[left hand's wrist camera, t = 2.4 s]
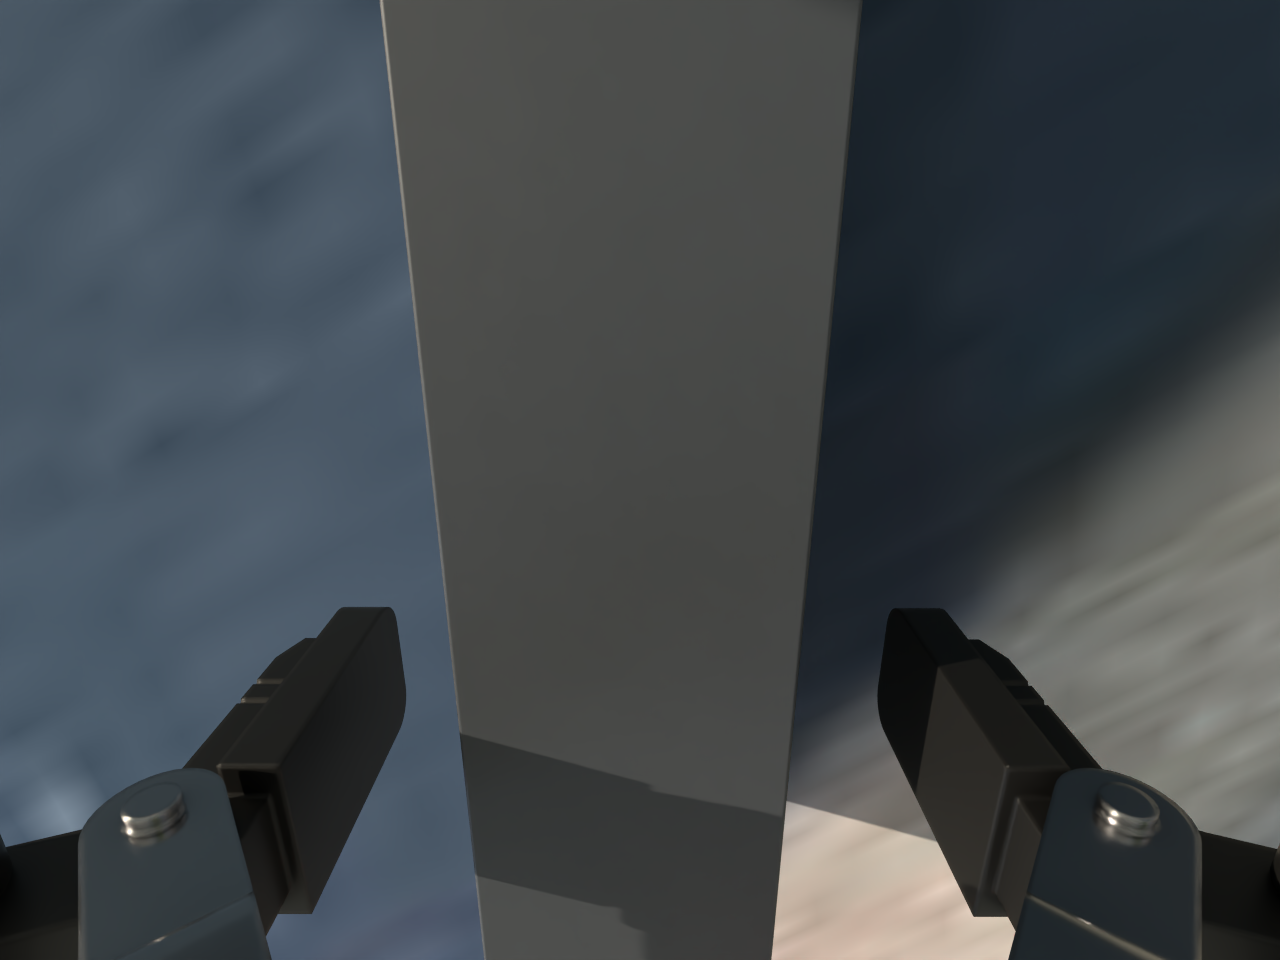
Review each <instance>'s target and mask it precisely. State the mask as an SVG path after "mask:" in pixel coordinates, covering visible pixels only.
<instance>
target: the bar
mask: <svg viewBox="0 0 1280 960" xmlns="http://www.w3.org/2000/svg"><path fill="white" fill-rule="evenodd" d="M862 3H863V0H380V8H381V17H382V26H383V35H384V44H385V54H386V63H387V72H388V81H389V90H390V99H391V109H392V118H393V127H394V136H395V145H396V154H397V163H398V173H399V182H400V191H401V200H402V209H403V218H404V228H405V237H406V246H407V255H408V264H409V273H410V282H411V292H412V301H413V310H414V319H415V328H416V337H417V347H418V356H419V365H420V374H421V383H422V392H423V402H424V411H425V420H426V429H427V438H428V447H429V456H430V466H431V475H432V484H433V493H434V502H435V511H436V521H437V530H438V539H439V548H440V557H441V566H442V575H443V585H444V594H445V603H446V612H447V621H448V630H449V640H450V649H451V658H452V667H453V676H454V685H455V694H456V704H457V713H458V722H459V731H460V740H461V749H462V759H463V768H464V777H465V786H466V795H467V804H468V813H469V823H470V832H471V841H472V850H473V859H474V868H475V878H476V887H477V896H478V905H479V914H480V923H481V932H482V942H483V951H484V960H771V957H772V946H773V936H774V925H775V915H776V904H777V894H778V883H779V873H780V862H781V852H782V842H783V831H784V821H785V810H786V800H787V789H788V779H789V768H790V758H791V747H792V737H793V726H794V716H795V705H796V695H797V684H798V674H799V663H800V653H801V642H802V632H803V621H804V611H805V600H806V590H807V579H808V569H809V558H810V548H811V537H812V527H813V516H814V506H815V495H816V485H817V475H818V464H819V454H820V443H821V433H822V422H823V412H824V401H825V391H826V380H827V370H828V359H829V349H830V338H831V328H832V317H833V307H834V296H835V286H836V275H837V265H838V254H839V244H840V233H841V223H842V212H843V202H844V191H845V181H846V170H847V160H848V149H849V139H850V128H851V118H852V108H853V97H854V87H855V76H856V66H857V55H858V45H859V34H860V24H861V13H862Z"/></svg>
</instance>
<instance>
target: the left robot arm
mask: <svg viewBox="0 0 1280 960" xmlns="http://www.w3.org/2000/svg"><path fill="white" fill-rule="evenodd" d="M877 698H878V710H879V716H880V721H881V724H882V727H883V730H884V732H885V734H886V736H887V738H888V740H889V742H890V745H891V747H892V749H893V751H894V753H895V755H896V757H897V759H898V761H899V763H900V765H901V767H902V769H903V771H904V774H905V776H906V778H907V780H908V782H909V784H910V786H911V788H912V790H913V792H914V794H915V796H916V798H917V800H918V803H919V805H920V807H921V809H922V811H923V813H924V815H925V817H926V819H927V821H928V823H929V825H930V827H931V829H932V832H933V834H934V836H935V838H936V840H937V842H938V844H939V846H940V848H941V850H942V852H943V854H944V856H945V858H946V861H947V863H948V865H949V867H950V869H951V871H952V873H953V875H954V877H955V879H956V881H957V883H958V885H959V887H960V890H961V892H962V894H963V896H964V898H965V900H966V902H967V904H968V906H969V908H970V910H971V912H972V914H973V916H974V917H1008V918H1009V919H1010V921H1011V923H1012V925H1013V927H1014V929H1015V931H1016V932H1015V936H1014V940H1013V944H1012V947H1011V951H1010V955H1009V959H1008V960H1280V845H1279V847H1278V849H1274V848H1270V847H1266V846H1262V845H1257V844H1253V843H1249V842H1244V841H1240V840H1236V839H1232V838H1227V837H1223V836H1219V835H1214V834H1210V833H1206V832H1203V831H1199V830H1198V829H1197V827H1196V825H1195V824H1194V822H1193V821H1192V819H1191V818H1190V817H1189V816H1188V815H1187V813H1186V812H1185V811H1184V810H1183V809H1182V808H1181V807H1179V806H1178V805H1177V804H1176V803H1175V802H1174V801H1172V800H1171V799H1170V798H1168V797H1167V796H1166V795H1164V794H1163V793H1161V792H1159V791H1158V790H1156V789H1155V788H1153V787H1151V786H1149V785H1147V784H1145V783H1143V782H1141V781H1139V780H1137V779H1134V778H1132V777H1129V776H1126V775H1123V774H1120V773H1117V772H1113V771H1109V770H1104V769H1102V768H1101V767H1100V766H1099V764H1098V763H1097V762H1096V761H1095V760H1094V759H1093V757H1092V756H1091V755H1090V754H1089V753H1088V752H1087V750H1086V749H1085V748H1084V747H1083V746H1082V745H1081V743H1080V742H1079V741H1078V740H1077V739H1076V737H1075V736H1074V735H1073V734H1072V733H1071V732H1070V730H1069V729H1068V728H1067V727H1066V726H1065V725H1064V723H1063V722H1062V721H1061V720H1060V719H1059V717H1058V716H1057V715H1056V714H1055V713H1054V712H1053V710H1052V709H1051V708H1050V707H1049V706H1048V705H1044V700H1043V699H1042V698H1041V696H1040V695H1039V694H1038V693H1037V692H1036V690H1035V689H1034V688H1033V687H1032V686H1028V681H1027V680H1026V679H1025V678H1024V676H1023V675H1022V674H1021V673H1020V672H1019V670H1018V669H1017V668H1016V667H1015V666H1014V665H1013V663H1012V662H1011V661H1010V660H1009V659H1008V658H1007V657H1005V656H1003V655H1002V654H1000V653H999V652H997V651H996V650H994V649H993V648H991V647H990V646H988V645H987V644H985V643H983V642H982V641H980V640H968V639H967V637H966V636H965V635H964V634H963V632H962V631H961V630H960V629H959V627H958V626H957V625H956V624H955V622H954V621H953V620H952V618H951V617H950V616H949V615H948V613H947V612H946V611H945V610H943V609H941V608H895V609H893V610H892V611H891V612H890V614H889V617H888V621H887V627H886V634H885V641H884V648H883V655H882V662H881V670H880V677H879V684H878V695H877ZM405 706H406V686H405V678H404V671H403V664H402V657H401V649H400V642H399V635H398V628H397V621H396V616H395V613H394V611H393V610H392V609H391V608H390V607H342V608H341V609H339V610H338V611H337V612H336V614H335V615H334V616H333V617H332V619H331V620H330V621H329V623H328V624H327V625H326V626H325V628H324V629H323V630H322V631H321V633H320V634H319V635H318V637H317V638H305V639H303V640H302V641H300V642H299V643H297V644H296V645H294V646H293V647H291V648H290V649H288V650H286V651H285V652H283V653H282V654H280V655H279V656H277V657H276V658H275V659H274V660H273V661H272V663H271V664H270V665H269V666H268V667H267V669H266V670H265V671H264V672H263V673H262V675H261V676H260V677H259V678H258V679H257V684H253V685H252V686H251V688H250V689H249V690H248V691H247V692H246V693H245V695H244V696H243V697H242V698H241V703H240V704H236V705H235V707H234V708H233V709H232V710H231V711H230V712H229V714H228V715H227V716H226V717H225V718H224V720H223V721H222V722H221V723H220V724H219V726H218V727H217V728H216V729H215V730H214V731H213V733H212V734H211V735H210V736H209V737H208V739H207V740H206V741H205V742H204V743H203V744H202V746H201V747H200V748H199V749H198V750H197V752H196V753H195V754H194V755H193V756H192V758H191V759H190V760H189V761H188V762H187V763H186V765H185V766H184V767H183V768H182V769H176V770H171V771H167V772H163V773H160V774H157V775H154V776H151V777H148V778H146V779H143V780H141V781H139V782H137V783H135V784H133V785H131V786H129V787H127V788H125V789H124V790H122V791H121V792H119V793H117V794H116V795H114V796H113V797H112V798H110V799H109V800H108V801H106V802H105V803H104V804H103V805H102V806H101V807H99V808H98V809H97V810H96V811H95V812H94V813H93V815H92V816H91V817H90V818H89V819H88V821H87V822H86V824H85V825H84V827H83V829H82V830H78V831H73V832H69V833H65V834H61V835H56V836H52V837H48V838H43V839H39V840H35V841H31V842H26V843H22V844H18V845H13V846H9V847H5V845H4V842H3V840H2V837H1V835H0V960H272V959H271V955H270V951H269V947H268V944H267V940H266V935H267V933H268V931H269V930H270V928H271V926H272V924H273V922H274V920H275V918H276V916H277V914H312V912H313V910H314V908H315V906H316V904H317V902H318V900H319V898H320V896H321V893H322V891H323V889H324V887H325V885H326V883H327V881H328V879H329V877H330V875H331V873H332V870H333V868H334V866H335V864H336V862H337V860H338V858H339V856H340V854H341V852H342V849H343V847H344V845H345V843H346V841H347V839H348V837H349V835H350V833H351V831H352V828H353V826H354V824H355V822H356V820H357V818H358V816H359V814H360V812H361V810H362V808H363V805H364V803H365V801H366V799H367V797H368V795H369V793H370V791H371V789H372V787H373V784H374V782H375V780H376V778H377V776H378V774H379V772H380V770H381V768H382V766H383V764H384V761H385V759H386V757H387V755H388V753H389V751H390V749H391V747H392V745H393V743H394V740H395V738H396V736H397V734H398V732H399V730H400V728H401V725H402V722H403V718H404V713H405Z"/></svg>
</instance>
